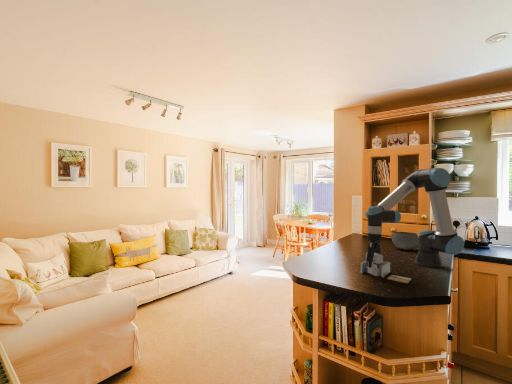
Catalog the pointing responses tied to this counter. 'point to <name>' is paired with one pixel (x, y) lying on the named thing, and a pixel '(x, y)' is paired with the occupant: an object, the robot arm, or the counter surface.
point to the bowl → (405, 240)
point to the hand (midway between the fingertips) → (373, 270)
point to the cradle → (384, 270)
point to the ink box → (375, 264)
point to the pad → (399, 278)
